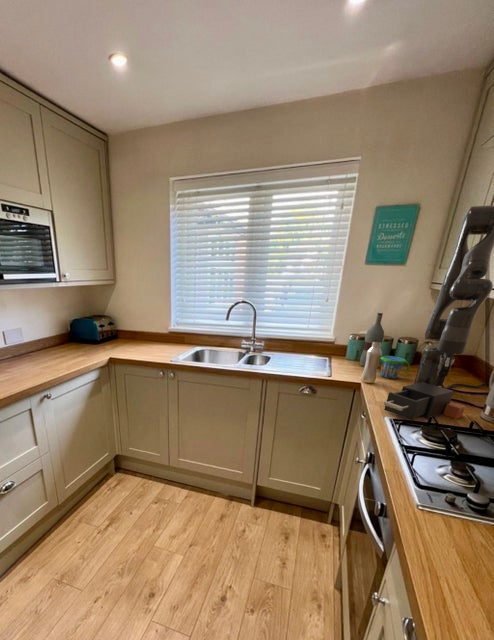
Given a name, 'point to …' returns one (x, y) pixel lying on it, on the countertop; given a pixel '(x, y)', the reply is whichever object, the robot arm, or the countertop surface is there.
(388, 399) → the drawer
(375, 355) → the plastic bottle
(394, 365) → the snack cup
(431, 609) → the countertop surface
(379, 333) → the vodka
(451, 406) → the block
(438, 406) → the cabinet
